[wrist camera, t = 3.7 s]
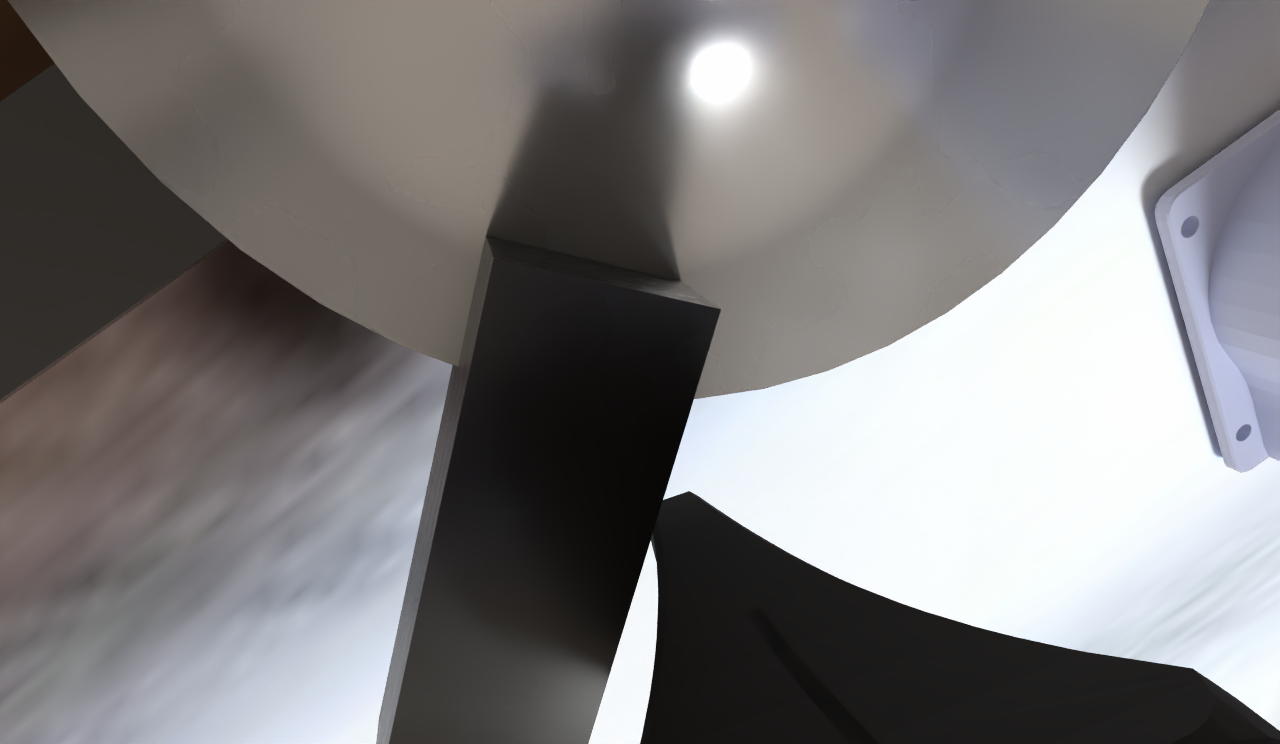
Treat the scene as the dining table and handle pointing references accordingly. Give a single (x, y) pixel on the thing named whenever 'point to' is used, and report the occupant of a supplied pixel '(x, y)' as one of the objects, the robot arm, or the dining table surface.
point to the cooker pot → (78, 229)
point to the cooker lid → (606, 241)
